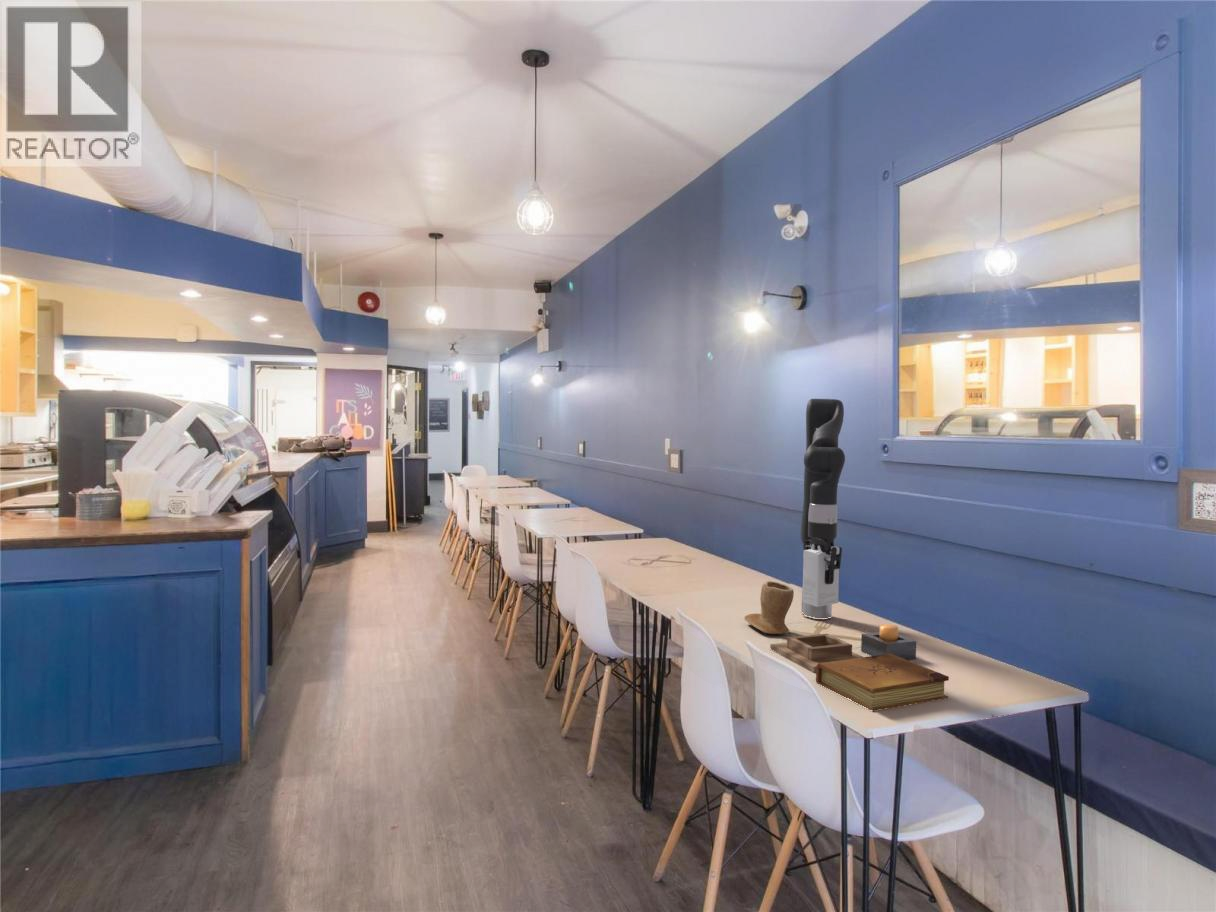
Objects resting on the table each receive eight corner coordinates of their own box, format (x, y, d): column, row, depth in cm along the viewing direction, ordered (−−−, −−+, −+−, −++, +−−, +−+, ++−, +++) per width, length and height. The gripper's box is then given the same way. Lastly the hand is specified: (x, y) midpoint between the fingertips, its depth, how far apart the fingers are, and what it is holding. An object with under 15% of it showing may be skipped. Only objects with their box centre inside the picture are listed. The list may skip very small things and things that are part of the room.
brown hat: (799, 636, 210) (800, 587, 209) (762, 637, 207) (763, 588, 207) (777, 622, 225) (778, 576, 224) (742, 624, 222) (744, 577, 222)
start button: (875, 639, 194) (875, 625, 194) (889, 637, 196) (889, 623, 196) (887, 644, 190) (888, 629, 189) (901, 642, 191) (902, 628, 191)
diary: (887, 674, 179) (888, 652, 179) (947, 701, 162) (948, 676, 162) (815, 684, 170) (816, 661, 170) (871, 713, 153) (872, 687, 153)
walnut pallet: (770, 649, 196) (770, 633, 196) (823, 643, 202) (823, 628, 202) (813, 672, 177) (814, 655, 177) (870, 665, 183) (871, 649, 183)
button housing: (861, 651, 196) (861, 633, 196) (889, 648, 199) (890, 631, 199) (886, 662, 186) (886, 644, 186) (915, 659, 190) (916, 641, 190)
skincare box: (822, 599, 194) (824, 546, 194) (839, 604, 189) (841, 550, 188) (800, 602, 190) (802, 548, 190) (817, 607, 185) (818, 552, 184)
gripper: (795, 517, 194) (793, 576, 195) (827, 524, 181) (826, 587, 181) (817, 516, 197) (816, 575, 197) (851, 523, 183) (849, 586, 184)
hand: (820, 580), depth 189 cm, fingers closed on skincare box, 6 cm apart
